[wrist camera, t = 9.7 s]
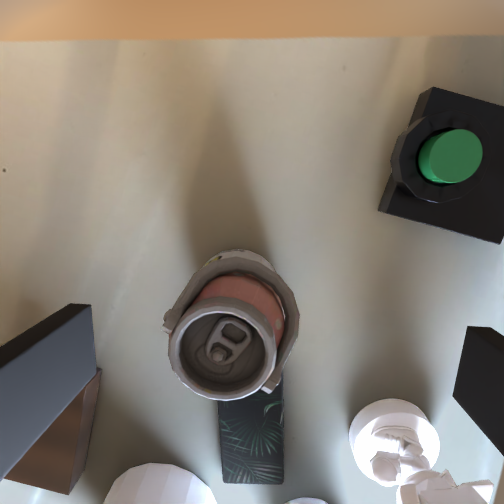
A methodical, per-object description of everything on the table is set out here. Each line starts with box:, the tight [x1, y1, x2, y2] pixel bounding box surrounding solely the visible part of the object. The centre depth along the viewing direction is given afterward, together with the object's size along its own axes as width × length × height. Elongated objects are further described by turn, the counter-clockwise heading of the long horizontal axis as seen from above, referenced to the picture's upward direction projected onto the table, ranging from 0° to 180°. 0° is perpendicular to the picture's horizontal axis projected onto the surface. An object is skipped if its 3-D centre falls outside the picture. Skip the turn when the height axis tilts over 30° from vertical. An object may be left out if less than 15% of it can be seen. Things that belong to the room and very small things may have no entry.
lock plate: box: [4, 368, 102, 495], centre depth 33 cm, size 16×11×3 cm
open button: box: [418, 129, 483, 183], centre depth 23 cm, size 4×4×2 cm
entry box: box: [378, 87, 504, 244], centre depth 25 cm, size 10×11×4 cm
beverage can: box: [161, 249, 300, 401], centre depth 24 cm, size 9×8×12 cm
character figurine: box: [349, 399, 494, 504], centre depth 27 cm, size 9×10×12 cm
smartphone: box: [218, 370, 284, 485], centre depth 33 cm, size 7×1×15 cm
